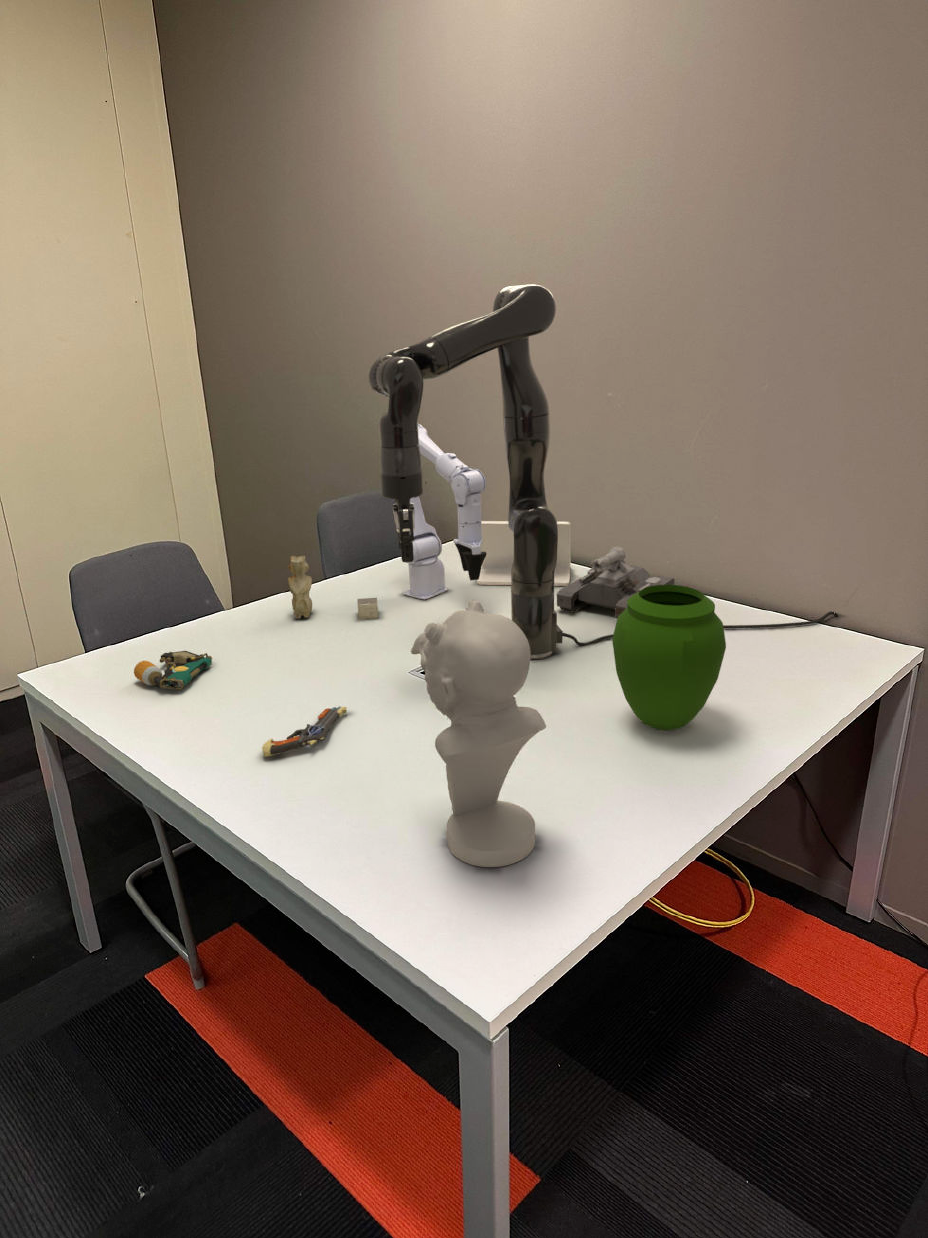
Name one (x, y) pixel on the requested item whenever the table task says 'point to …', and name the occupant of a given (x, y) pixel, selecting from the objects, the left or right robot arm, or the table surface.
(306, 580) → the sculpture
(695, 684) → the vase
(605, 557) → the toy
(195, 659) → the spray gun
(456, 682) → the bust sculpture
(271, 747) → the toy gun
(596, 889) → the table surface
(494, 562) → the tablet stand
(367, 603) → the brick
